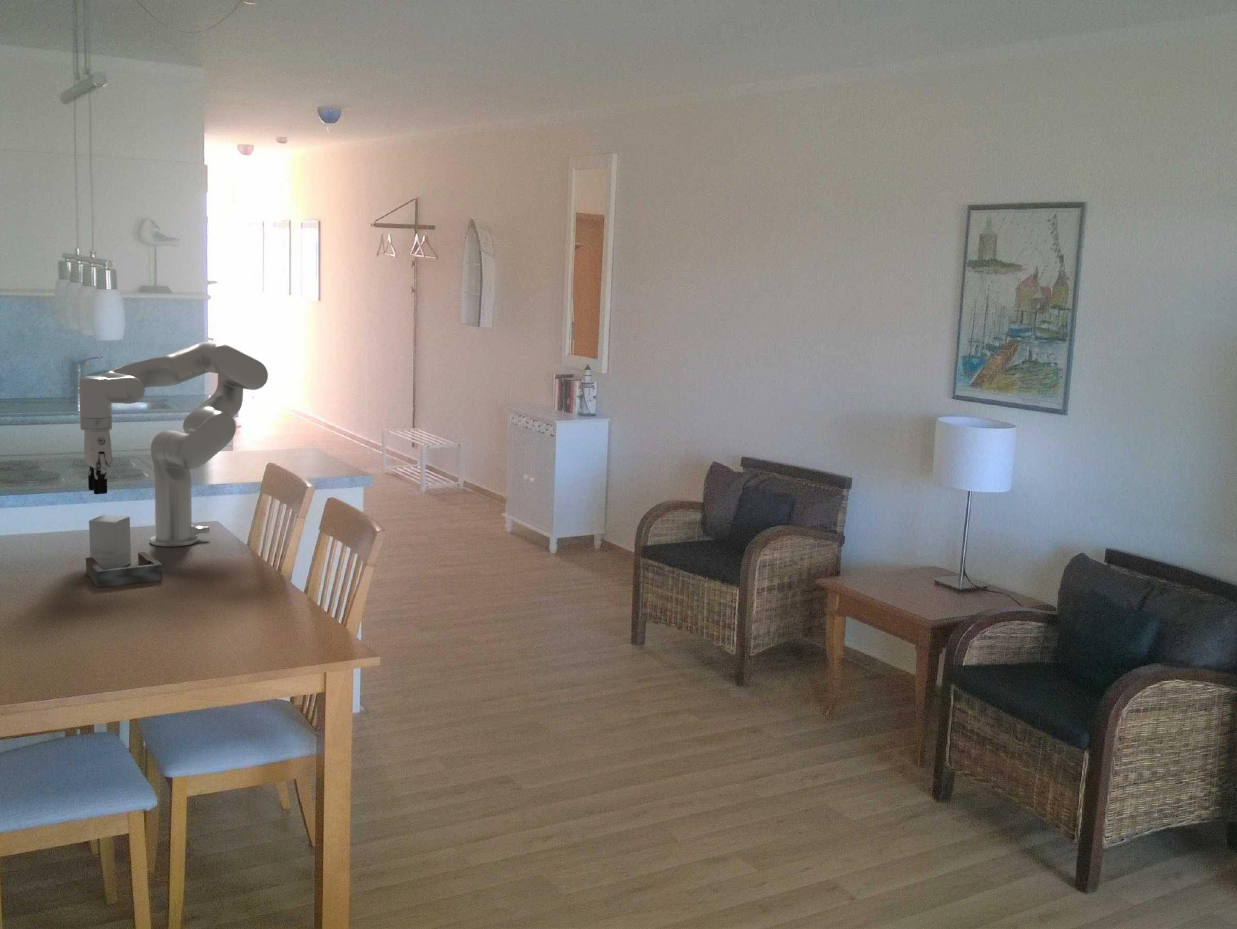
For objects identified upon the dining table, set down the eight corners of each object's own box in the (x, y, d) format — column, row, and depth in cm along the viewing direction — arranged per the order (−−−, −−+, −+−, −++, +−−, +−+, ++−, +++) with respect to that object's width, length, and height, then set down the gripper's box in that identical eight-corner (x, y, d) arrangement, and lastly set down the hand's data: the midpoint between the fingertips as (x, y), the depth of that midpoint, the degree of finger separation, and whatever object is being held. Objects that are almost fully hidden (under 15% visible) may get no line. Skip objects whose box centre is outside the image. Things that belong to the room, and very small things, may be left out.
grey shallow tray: (146, 566, 292) (146, 551, 291) (162, 580, 281) (162, 564, 280) (84, 573, 283) (83, 558, 282) (98, 587, 272) (97, 571, 271)
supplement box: (132, 563, 294) (131, 516, 292) (116, 570, 287) (115, 522, 285) (105, 561, 295) (104, 513, 293) (89, 568, 288) (88, 520, 285)
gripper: (119, 427, 290) (121, 496, 293) (103, 418, 303) (104, 484, 306) (88, 428, 285) (90, 499, 288) (73, 419, 299) (75, 487, 302)
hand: (97, 491), depth 297 cm, fingers open, 4 cm apart
